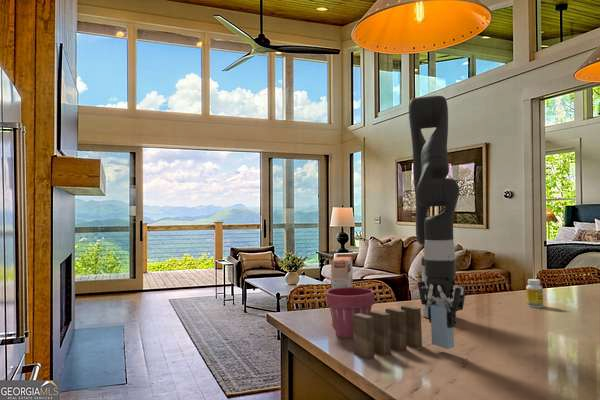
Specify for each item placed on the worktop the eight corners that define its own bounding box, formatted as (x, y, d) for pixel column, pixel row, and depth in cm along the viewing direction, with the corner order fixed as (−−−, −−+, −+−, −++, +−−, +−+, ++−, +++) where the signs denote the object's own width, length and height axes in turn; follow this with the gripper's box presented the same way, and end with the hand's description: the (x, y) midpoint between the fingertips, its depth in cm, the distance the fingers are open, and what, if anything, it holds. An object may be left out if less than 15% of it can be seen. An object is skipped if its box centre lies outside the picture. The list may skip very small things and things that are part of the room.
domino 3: (392, 345, 127) (391, 307, 127) (406, 349, 123) (405, 310, 123) (386, 346, 126) (385, 308, 126) (400, 351, 121) (399, 312, 122)
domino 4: (407, 341, 130) (406, 305, 130) (422, 346, 125) (420, 308, 126) (402, 343, 129) (400, 306, 129) (415, 347, 124) (414, 309, 125)
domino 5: (437, 342, 122) (436, 303, 122) (454, 347, 118) (452, 306, 118) (431, 344, 121) (430, 304, 121) (447, 348, 117) (446, 308, 117)
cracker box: (350, 327, 148) (348, 260, 148) (331, 327, 149) (329, 260, 150) (354, 317, 162) (352, 256, 162) (337, 317, 163) (335, 256, 163)
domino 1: (360, 352, 121) (359, 313, 122) (374, 357, 117) (372, 316, 117) (354, 354, 120) (352, 314, 120) (367, 359, 116) (365, 317, 116)
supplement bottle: (530, 304, 175) (529, 278, 175) (545, 306, 171) (544, 279, 171) (524, 306, 171) (523, 280, 172) (540, 308, 167) (538, 281, 168)
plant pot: (363, 343, 130) (361, 296, 130) (318, 337, 137) (317, 293, 137) (383, 331, 142) (381, 288, 142) (341, 326, 149) (339, 285, 149)
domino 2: (377, 348, 124) (376, 310, 124) (391, 353, 120) (389, 313, 120) (370, 350, 123) (369, 311, 123) (384, 355, 119) (383, 314, 119)
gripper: (408, 256, 124) (410, 321, 124) (452, 260, 112) (454, 333, 111) (428, 254, 128) (431, 317, 127) (473, 258, 116) (475, 328, 115)
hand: (442, 324), depth 119 cm, fingers closed on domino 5, 5 cm apart
